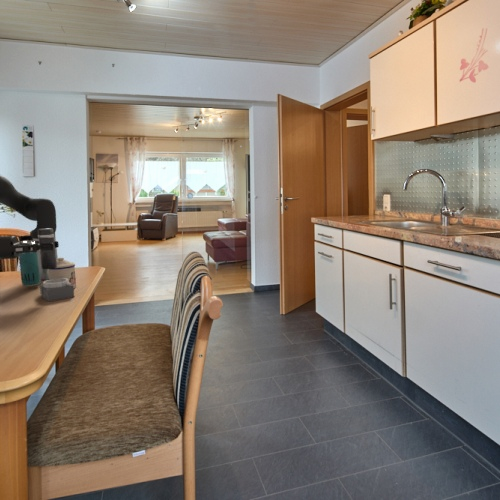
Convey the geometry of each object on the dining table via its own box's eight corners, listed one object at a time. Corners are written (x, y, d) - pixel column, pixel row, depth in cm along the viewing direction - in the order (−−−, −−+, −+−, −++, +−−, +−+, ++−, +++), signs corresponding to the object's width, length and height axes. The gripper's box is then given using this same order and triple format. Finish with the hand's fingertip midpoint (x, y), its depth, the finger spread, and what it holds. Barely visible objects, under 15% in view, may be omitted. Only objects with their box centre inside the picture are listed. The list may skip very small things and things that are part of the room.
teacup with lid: (75, 290, 142) (72, 258, 140) (48, 292, 139) (44, 260, 138) (79, 282, 153) (76, 253, 152) (54, 285, 151) (51, 255, 149)
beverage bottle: (37, 284, 152) (31, 234, 149) (44, 287, 148) (39, 235, 145) (19, 288, 147) (12, 235, 144) (26, 290, 143) (20, 236, 140)
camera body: (40, 296, 135) (38, 280, 134) (65, 291, 140) (64, 276, 140) (47, 301, 128) (46, 285, 127) (74, 296, 133) (72, 281, 132)
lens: (39, 267, 132) (35, 229, 130) (55, 265, 135) (51, 227, 133) (43, 269, 128) (39, 229, 126) (58, 267, 131) (55, 228, 129)
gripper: (-12, 239, 120) (48, 236, 123) (8, 234, 134) (61, 232, 137) (-9, 263, 121) (50, 259, 124) (10, 255, 135) (63, 252, 138)
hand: (55, 245), depth 131 cm, fingers closed on lens, 4 cm apart
